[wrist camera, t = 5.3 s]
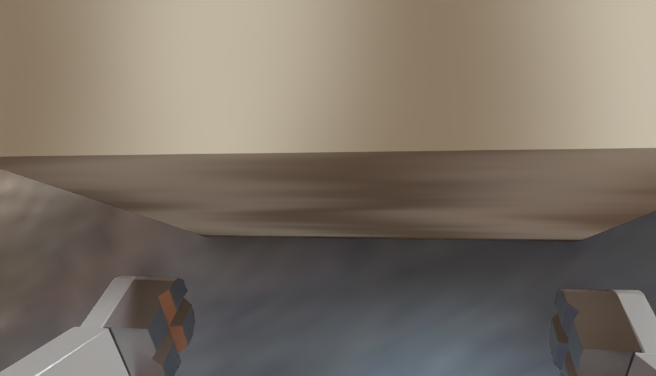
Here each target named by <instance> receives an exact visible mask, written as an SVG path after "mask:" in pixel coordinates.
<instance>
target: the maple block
mask: <svg viewBox="0 0 656 376" xmlns="http://www.w3.org/2000/svg"><path fill="white" fill-rule="evenodd" d="M0 169H3V170H6V171H9V172H12V173H15V174H18V175H21V176H24V177H27V178H30V179H33V180H36V181H39V182H42V183H45V184H49V185H52V186H55V187H58V188H61V189H64V190H67V191H70V192H73V193H76V194H79V195H82V196H85V197H88V198H91V199H94V200H97V201H100V202H103V203H106V204H109V205H112V206H115V207H118V208H121V209H124V210H127V211H130V212H133V213H136V214H139V215H142V216H145V217H148V218H151V219H154V220H157V221H160V222H163V223H166V224H169V225H172V226H175V227H178V228H181V229H184V230H187V231H190V232H193V233H196V234H199V235H202V236H226V237H302V238H378V239H453V240H529V241H581V240H583V239H586V238H588V237H591V236H593V235H596V234H598V233H601V232H604V231H606V230H609V229H611V228H614V227H616V226H619V225H621V224H624V223H627V222H629V221H632V220H634V219H637V218H639V217H642V216H644V215H647V214H650V213H652V212H655V211H656V0H0Z"/></svg>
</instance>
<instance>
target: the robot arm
mask: <svg viewBox="0 0 656 376" xmlns="http://www.w3.org/2000/svg"><path fill="white" fill-rule="evenodd" d="M186 292H187V289H186V286H185V283H184V280H182V279H180V278H171V277H153V276H126V275H119V276H117V277H115V278H114V279H113V280H112V281H111V283H110V284H109V286H108V287H107V289H106V290H105V291H104V293H103V294H102V296H101V297H100V299H99V300H98V301H97V303H96V304H95V306H94V307H93V309H92V310H91V312H90V313H89V314H88V316H87V317H86V319H85V320H84V322H83V323H82V324H81V326H80V327H72V328H71V329H69V330H68V331H66V332H64V333H63V334H61V335H59V336H58V337H56V338H55V339H53V340H51V341H50V342H48V343H47V344H45V345H43V346H42V347H40V348H38V349H37V350H35V351H34V352H32V353H30V354H29V355H27V356H26V357H24V358H22V359H21V360H19V361H17V362H16V363H14V364H13V365H11V366H9V367H8V368H6V369H4V370H3V371H1V372H0V376H175V374H176V371H177V369H178V367H179V365H180V363H181V360H180V357H179V354H178V353H179V352H180V351H182V350H183V349H184V348H186V347H187V346H188V345H189V342H190V340H191V338H192V335H193V330H194V324H195V320H194V311H193V308H192V305H191V304H190V303H189V302H188V301H187V300H186V299H184V296H185V294H186ZM555 305H556V309H557V312H558V314H556V315H555V316H554V317H553V318H552V319H551V325H550V348H551V354H552V358H553V362H554V364H555V365H556V366H557V367H558V368H559V369H560V370H561V371H562V372H561V376H656V316H655V314H654V312H653V311H652V309H651V307H650V305H649V303H648V301H647V299H646V297H645V295H644V294H643V293H642V292H641V291H640V290H594V289H559V290H558V292H557V294H556V299H555Z"/></svg>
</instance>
